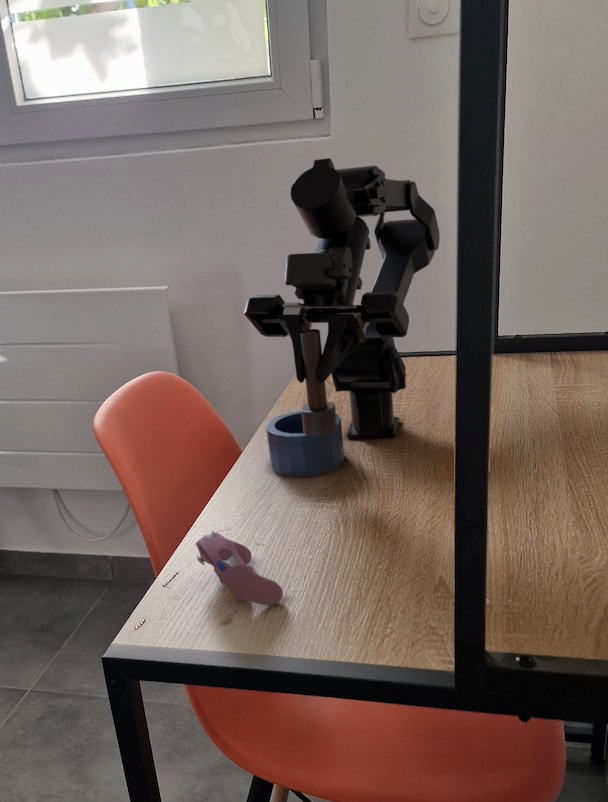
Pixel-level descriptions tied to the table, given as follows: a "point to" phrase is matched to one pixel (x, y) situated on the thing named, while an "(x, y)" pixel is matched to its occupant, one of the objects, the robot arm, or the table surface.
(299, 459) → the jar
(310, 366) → the brown peg with base
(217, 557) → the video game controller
